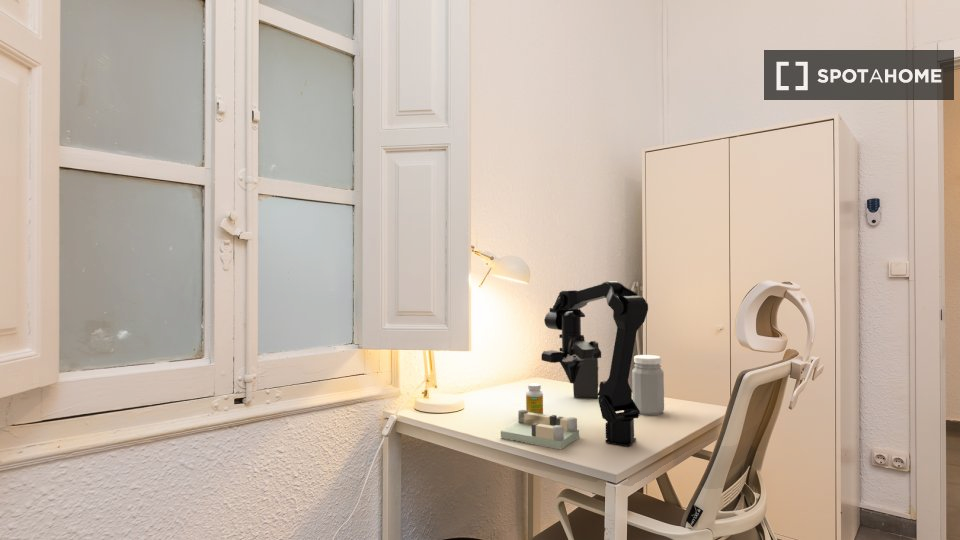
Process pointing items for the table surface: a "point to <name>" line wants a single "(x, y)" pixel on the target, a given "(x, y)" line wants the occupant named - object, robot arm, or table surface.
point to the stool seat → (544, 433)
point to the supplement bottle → (534, 399)
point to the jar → (648, 384)
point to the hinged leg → (536, 418)
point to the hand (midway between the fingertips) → (572, 383)
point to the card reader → (587, 380)
